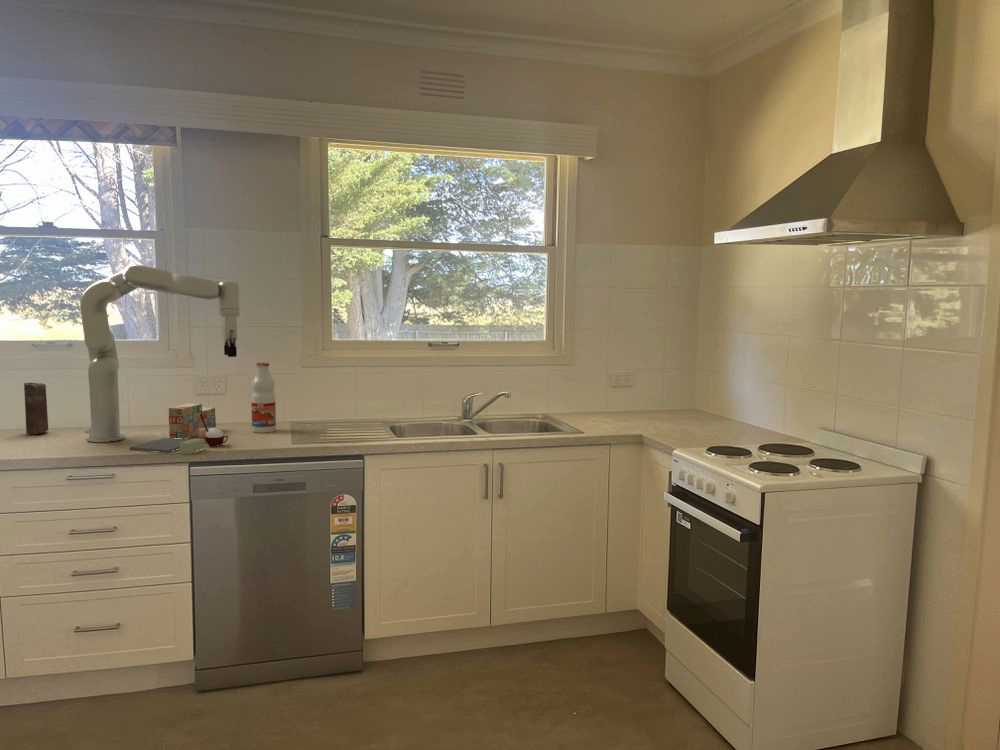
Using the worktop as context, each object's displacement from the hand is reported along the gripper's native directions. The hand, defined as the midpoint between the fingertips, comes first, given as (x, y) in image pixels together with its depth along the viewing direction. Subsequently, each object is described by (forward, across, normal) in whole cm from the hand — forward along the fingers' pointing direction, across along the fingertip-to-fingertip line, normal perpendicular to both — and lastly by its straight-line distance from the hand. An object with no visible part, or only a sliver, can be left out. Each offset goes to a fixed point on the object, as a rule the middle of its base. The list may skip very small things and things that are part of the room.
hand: (230, 355), depth 291 cm
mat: (+31, +19, -26) cm, 44 cm away
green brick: (+31, +32, -18) cm, 48 cm away
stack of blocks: (+31, -2, -14) cm, 34 cm away
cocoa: (+31, +24, -10) cm, 41 cm away
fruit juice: (+31, +2, +12) cm, 33 cm away
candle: (+31, -26, -68) cm, 79 cm away
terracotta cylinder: (+31, +14, -12) cm, 36 cm away
